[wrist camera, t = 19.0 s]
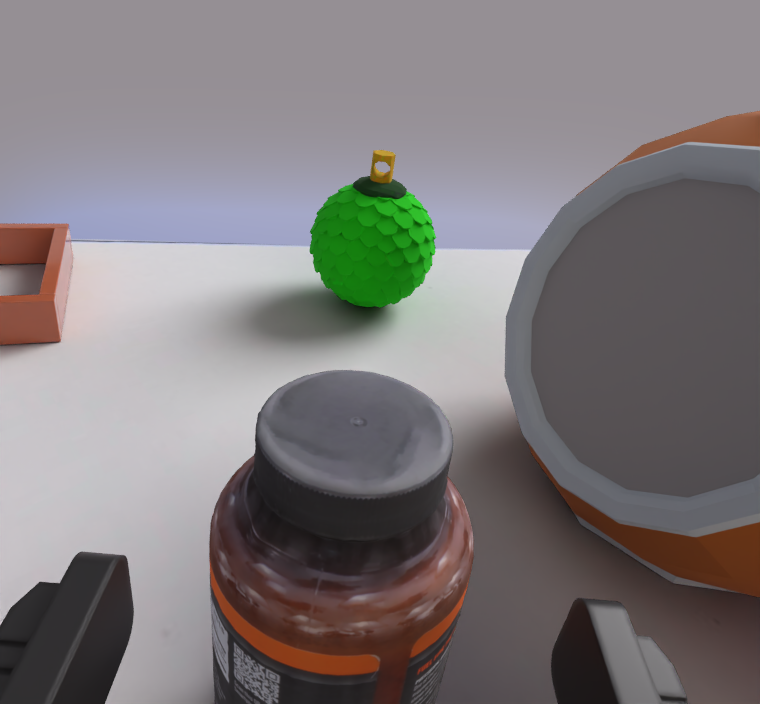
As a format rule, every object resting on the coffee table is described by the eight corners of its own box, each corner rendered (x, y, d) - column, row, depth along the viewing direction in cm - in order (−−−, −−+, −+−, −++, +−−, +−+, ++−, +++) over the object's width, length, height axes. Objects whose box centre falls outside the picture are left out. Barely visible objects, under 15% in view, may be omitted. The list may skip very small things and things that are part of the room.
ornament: (293, 318, 39) (302, 158, 34) (319, 268, 46) (330, 129, 40) (420, 340, 38) (449, 181, 33) (427, 287, 45) (452, 148, 40)
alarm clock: (414, 408, 32) (485, 42, 23) (638, 355, 40) (753, 69, 32) (748, 774, 18) (1233, 222, 10) (983, 579, 27) (1361, 186, 18)
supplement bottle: (417, 642, 21) (490, 360, 15) (423, 857, 16) (538, 557, 10) (239, 624, 20) (243, 330, 15) (187, 837, 15) (161, 515, 10)
